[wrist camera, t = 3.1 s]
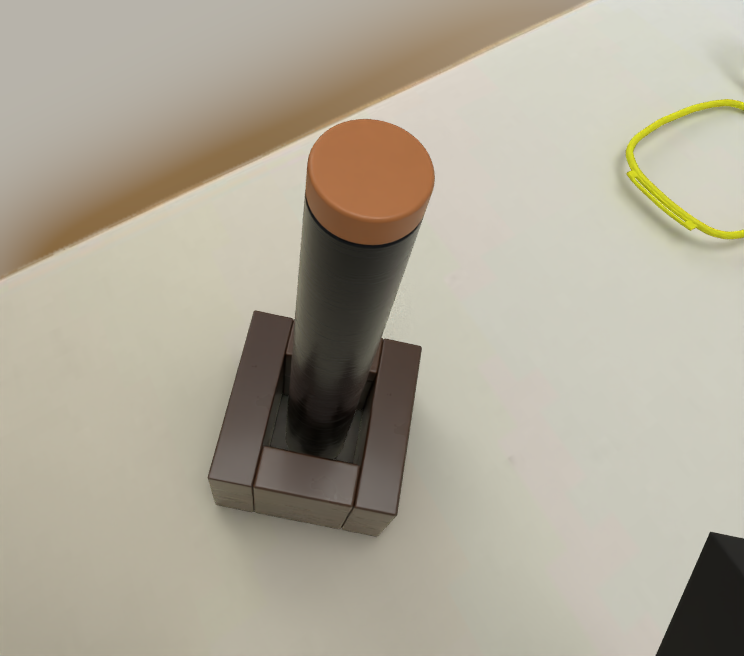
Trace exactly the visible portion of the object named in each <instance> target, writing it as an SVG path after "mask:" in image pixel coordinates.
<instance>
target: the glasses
mask: <svg viewBox="0 0 744 656" xmlns="http://www.w3.org/2000/svg"><path fill="white" fill-rule="evenodd" d="M721 106H730V107H735V108H739V109H741V110H744V103H743V102H740V101H736V100H730V99H724V100H715V101H709V102H704V103H700V104H696V105H693V106H690V107H687V108H684V109H682V110H680V111H677V112H675V113H672V114H670V115H668V116H665V117H663V118H661V119H659V120H657V121H655V122H654V123H652V124H651V125H649V126H648V127H646V128H645V129H643V130H642V131H640V132H639V133H638V134H636V135H635V136H634V137H633V138H632V139H631V140H630V142H629V144H628V146H627V149H626V158H627V162H628V164H629V167H630V169H631V171H629V172H627V173H626V174H627V176H628V177H629V178H630V180H631V181H632V182H633V183H634V184H635V185H636V186H637V187H638V188H639V189H640V190H641V191H642V192H643V193H644V194H645V195H646V196H647V197H648V198H649V199H650V200H651V201H652V202H653V203H654V204H656V205H657V206H658V207H659V208H660V209H661V210H663V211H664V212H665V213H666V214H668V215H669V216H670V217H671V218H673V219H674V220H675V221H677V222H678V223H680V224H681V225H682V226H684V227H685V228H687V229H688V230H690V231H691V230H693V229H694V228H697V229H698V230H700V231H702V232H704V233H706V234H708V235H710V236H713V237H717V238H721V239H738V238H743V237H744V230H741V231H734V232H726V231H720V230H716V229H714V228H711V227H709V226H707V225H706V224H704V223H702V222H701V221H699V220H697V219H696V218H694V217H693V216H691V215H690V214H688V213H687V212H686V211H684V210H683V209H682V208H680V207H679V206H678V205H677V204H675V203H674V202H673V201H672V200H670V199H669V198H668V197H667V196H666V195H665V194H664V193H663V192H662V191H660V190H659V189H658V188H657V187H656V186H655V185H654V184H653V183H652V182H651V181H650V180H649V179H648V178H647V177H646V176H645V175H644V174H643V173H642V171H641V170H640V169H639V167H638V165H637V163H636V160H635V158H634V154H633V151H634V148H635V146H636V144H637V143H638V142H639V141H640V140H641V139H642V138H644V137H645V136H647V135H648V134H649V133H651V132H652V131H654V130H656V129H657V128H659V127H661V126H662V125H664V124H666V123H669V122H671V121H673V120H676V119H678V118H681V117H683V116H685V115H688V114H690V113H693V112H696V111H700V110H704V109H708V108H713V107H721ZM635 178H636V179H637V180H638V181H639V182H640V183H641V184H642V185H643V186H644V187H645V188H646V189H647V190H648V191H649V192H650V193H651V194H652V195H653V196H654V197H653V196H652V195H651V194H650V193H649V192H648V191H647V190H646V189H645V188H644V187H642V186H641V185H640V184H639V183H638V181H637V180H636V179H635ZM656 198H657V199H658V200H659V201H660V202H661V203H662V204H663V205H664V206H665V207H664V206H663V205H662V204H661V203H660V202H659V201H658V200H657V199H656ZM666 207H667V208H668V209H669V210H670V211H672V212H673V213H674V214H675V215H674V214H673V213H672V212H670V211H669V210H668V209H667V208H666ZM676 215H677V216H678V217H680V218H681V219H682V220H684V221H685V222H684V221H682V220H681V219H680V218H678V217H677V216H676Z"/></svg>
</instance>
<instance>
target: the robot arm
mask: <svg viewBox="0 0 744 656" xmlns="http://www.w3.org/2000/svg"><path fill="white" fill-rule="evenodd" d="M656 656H744V539H743V538H738V537H733V536H728V535H724V534H719V533H714V532H710V534H709V536H708V538H707V540H706V543H705V545H704V547H703V549H702V552H701V554H700V556H699V559H698V561H697V563H696V565H695V568H694V570H693V572H692V574H691V577H690V579H689V581H688V583H687V586H686V588H685V590H684V593H683V595H682V597H681V599H680V602H679V604H678V606H677V608H676V611H675V613H674V615H673V618H672V620H671V622H670V624H669V627H668V629H667V631H666V633H665V636H664V638H663V640H662V643H661V645H660V647H659V649H658V652H657V654H656Z"/></svg>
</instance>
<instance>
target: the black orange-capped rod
mask: <svg viewBox="0 0 744 656" xmlns="http://www.w3.org/2000/svg"><path fill="white" fill-rule="evenodd" d="M434 181H435V175H434V168H433V164H432V161H431V159H430V156H429V154H428V152H427V151H426V149H425V148H424V147H423V145H422V144H421V143H420V142H419V141H418V140H417V139H416V138H415V137H414V136H413V135H411V134H410V133H409V132H407V131H405V130H404V129H402V128H400V127H398V126H396V125H393V124H391V123H387V122H384V121H379V120H372V119H358V120H351V121H347V122H343V123H341V124H338V125H336V126H334V127H332V128H330V129H329V130H327V131H326V132H325V133H324V134H323V135H321V136H320V137H319V139H318V140H317V141H316V142H315V144H314V145H313V147H312V149H311V151H310V154H309V158H308V164H307V176H306V190H305V201H304V213H303V226H302V238H301V250H300V263H299V275H298V287H297V300H296V312H295V324H294V337H293V349H292V361H291V374H290V386H289V398H288V411H287V423H286V443H287V446H288V449H289V450H290V451H294V452H299V453H304V454H309V455H314V456H319V457H324V458H329V459H334V458H335V457H337V456H338V454H339V453H340V452H341V450H342V448H343V446H344V443H345V440H346V437H347V434H348V432H349V429H350V426H351V423H352V420H353V417H354V414H355V411H356V409H357V406H358V403H359V400H360V397H361V394H362V391H363V389H364V386H365V383H366V380H367V377H368V374H369V371H370V369H371V366H372V363H373V360H374V357H375V354H376V351H377V349H378V346H379V343H380V340H381V337H382V334H383V331H384V328H385V326H386V323H387V320H388V317H389V314H390V311H391V308H392V306H393V303H394V300H395V297H396V294H397V291H398V288H399V286H400V283H401V280H402V277H403V274H404V271H405V268H406V266H407V263H408V260H409V257H410V254H411V251H412V248H413V245H414V243H415V240H416V237H417V234H418V231H419V228H420V225H421V223H422V220H423V217H424V214H425V211H426V208H427V205H428V203H429V200H430V197H431V194H432V191H433V187H434Z"/></svg>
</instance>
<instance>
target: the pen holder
mask: <svg viewBox="0 0 744 656" xmlns="http://www.w3.org/2000/svg"><path fill="white" fill-rule="evenodd" d="M294 324H295V319H294V321H293V319H292V318H288V317H284V316H279V315H274V314H270V313H265V312H260V311H254V312H253V316H252V320H251V323H250V327H249V330H248V334H247V338H246V341H245V345H244V349H243V352H242V356H241V359H240V363H239V367H238V370H237V374H236V377H235V381H234V385H233V388H232V392H231V395H230V399H229V403H228V406H227V410H226V413H225V417H224V421H223V424H222V428H221V431H220V435H219V439H218V442H217V446H216V449H215V453H214V457H213V460H212V464H211V467H210V471H209V475H208V480H209V484H210V487H211V490H212V494H213V497H214V500H215V504H216V505H219V506H224V507H229V508H234V509H239V510H244V511H249V512H254V511H255V512H256V513H261V514H266V515H271V516H276V517H281V518H286V519H291V520H296V521H301V522H306V523H311V524H316V525H321V526H326V527H331V528H336V529H340V528H341V527H342V529H343V530H346V531H351V532H356V533H361V534H366V535H371V536H379V535H380V534H381V532H382V531H383V530H384V529H385V528H386V527H387V526H388V525H389V524H390V522H391V521H392V520H393V519H394V518H395V517H396V516H397V513H398V506H399V499H400V493H401V486H402V479H403V472H404V466H405V459H406V452H407V445H408V439H409V432H410V425H411V418H412V412H413V405H414V398H415V391H416V385H417V378H418V371H419V364H420V358H421V351H422V348H421V346H418V345H413V344H408V343H404V342H399V341H394V340H390V339H384V340H383V338H381V340H380V343H379V346H378V349H377V351H376V354H375V357H374V360H373V363H372V366H371V369H370V371H369V374H368V377H367V380H366V383H365V386H364V389H363V391H362V394H361V397H360V400H359V403H358V406H357V409H356V410H363V412H362V417H361V423H360V428H359V434H358V439H357V445H356V450H355V456H354V461H353V463H348V462H343V461H338V460H334V459H329V458H324V457H319V456H314V455H309V454H304V453H299V452H294V451H289V450H284V449H279V448H275V447H270V443H271V439H272V434H273V430H274V426H275V422H276V418H277V414H278V410H279V405H280V401H281V397H282V393H283V394H284V395H288V396H289V386H290V374H291V361H292V349H293V337H294Z"/></svg>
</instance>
